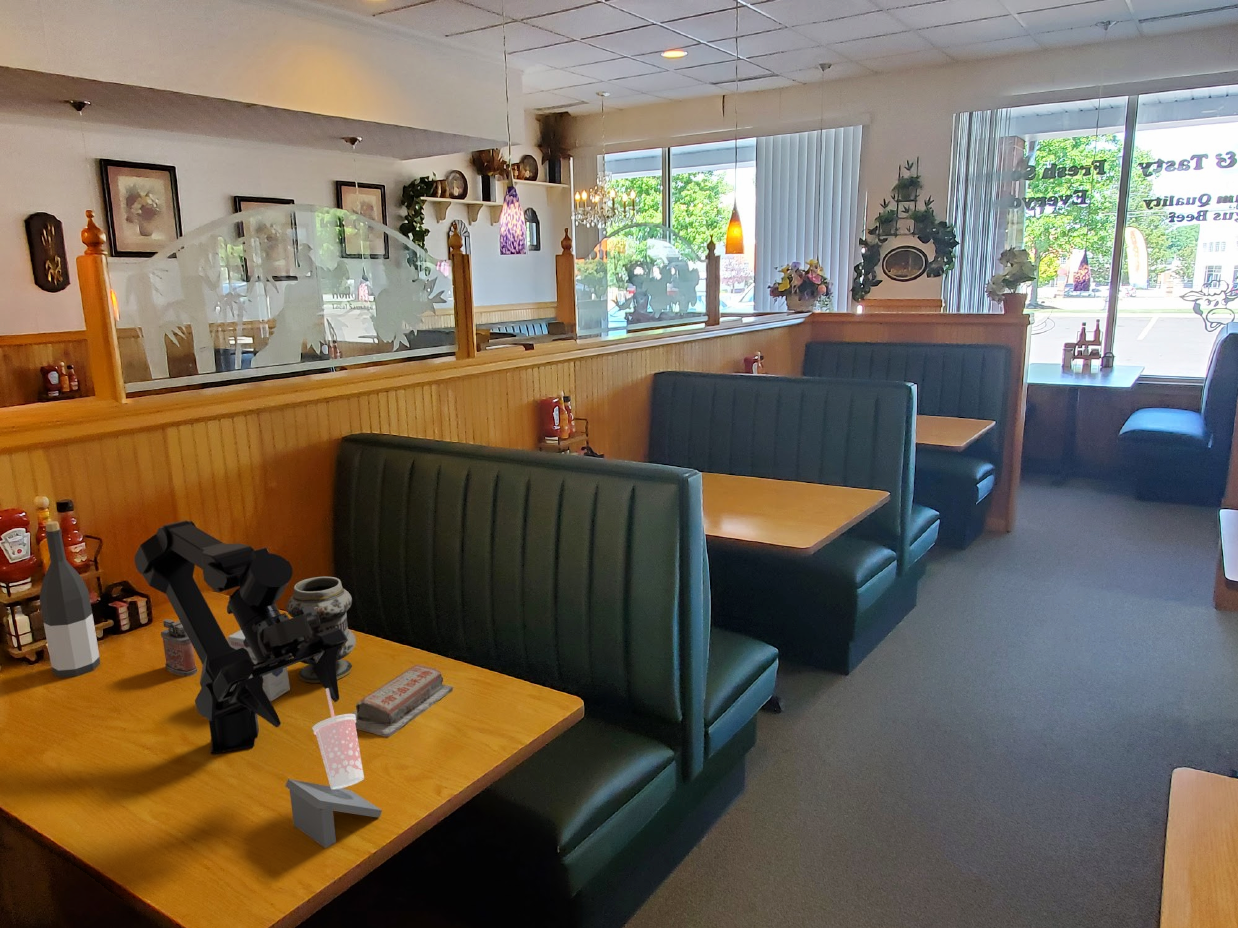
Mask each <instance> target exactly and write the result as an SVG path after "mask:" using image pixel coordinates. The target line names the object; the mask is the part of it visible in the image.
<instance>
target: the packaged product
mask: <svg viewBox="0 0 1238 928" xmlns="http://www.w3.org/2000/svg"><path fill="white" fill-rule="evenodd" d="M443 682H444V678H443V675H442V671H440V670H438V669H437V668H436V667H431V666H430V667H429V666H426V665H421V664H414V665H413V666H411V667H409V668H408V669H407V670H405V671H403V672H401V674H399V675H396V677H395V678H392V679H391V680H389V681H388V682H386V683H385V684H384V685H382V686H380V687H378V688H377V689H376V690H374V691H373V692H371V693H369V694H368V695H366V696H365V697H363V698H362V699H360V700H359V701H358V702H357V703H356V705H355V709H356V710H355V711H353V712H352V713H351V714H355V716H356V721H357V722H356V723H355V725H356V730H359V731H364V732H366V733H370V734H375V735H378V736H381V737H386V736H387V738H390V737H392V736H393V735H395V734H396V733H397V732H398V731H399V730H401V729H402V728H403V727H404V726H405V725H407V724H409V723H410V722H411V720H412V721H413V720H415V719H416V718H417V717H419V716H420V715H422V714H423V713H424V712H426V711H427V710H429V709H430V708H431V707H433V705H435V704H436V703H438V702H439V701H441V699H442V698H443V697H445V696H447V695H448V694H450V693H451V692H452V691H453V690H454V686H451V685H448V684H447V685H446V684H443ZM429 707H430V708H429ZM418 715H419V716H418Z"/></svg>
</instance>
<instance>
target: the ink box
mask: <svg viewBox="0 0 1238 928" xmlns="http://www.w3.org/2000/svg"><path fill="white" fill-rule="evenodd" d="M244 640H245V636H244V634H243V632H242V630H241V629H240V630H238V631H236V632H234V633H232V634H230V635H228V636H227V641H228V643H229V645H230V646H231V647H232V648H234V649H236V650H237V649H240V648H245V649H246V650H247V651H248V653H249V655H250V657H251V659H252V661H253V663H254V664H256V663H257V662H258V661H257V660H256V658H255V656H254V654H253V652H252V650H251V648H250V647H247V648H246V647H245V645H244V643H243V641H244ZM262 677H263V690H264V692H265V694H266V695H267V697H268V699H269V701H270V702H272V701H274V700H276V699H278V698H279V697H281V696H282V695H284V694H285V693H287V692H288V691H290V690H291V687H290V686H291V685H290V680H289V674H288V667H285V668H282V669H280V670H277V671H274V672H272V673H269V674H266V675H264V676H262Z"/></svg>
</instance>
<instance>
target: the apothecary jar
mask: <svg viewBox="0 0 1238 928" xmlns="http://www.w3.org/2000/svg"><path fill="white" fill-rule="evenodd" d="M352 603H353V598H352V595H351V594H350V593H349V591H347V590H346V589H345V588H343V585H342V581H341V579H339V578H338V577H333V576H317V577H310V578H306V579H302V580H300V581H299V582H297V583H296V584H295V585H294V587H293V595H292V596H290V598H289V599H288V600H287V603H286V605H285V609H286V612H287V613H288V614H287V615H288V616H290V617H291V618H294V617H297V611H298V610H300V609H302V608H305V607H308V606H311V605H312V606H313V607H314V609H315V611H316V612H317V614H318V616H319V619H320V625H319V626H316V627H314V628H311V631H312V635H310V636H307V637H305V636H303V638H304V641H303V643H302V644H299V645H298V647H299V648H301V647H304V646H307V645H309V644H310V642H311V641H312V640H313V638H314V637H315V635H316V634H318V633H321V632H324V631H327V630H329V629H332V628H335V627H336V628H339V629H341V630H342V631H343V632H344V634H345V635H346V637H347V639H348V641H347V642H346V643H345V645H344V646H343V648H342V650H341V651H340V653H339V654H338V656H337V657H336V676H337V680H340V679H342V678H345V677H346V676H347V675H349V674H351V672H352V669H351V668H352V667H353V664H352V663H351V662H350V661H348V660H346V659H344V658H346V657H347V656H348V655H349V654H351V652H352V651H353V650H354V648H355V646H356V643H357V638H356V636H355V634H354V633H353V632H352V630H350V629H349V626H348V618H347V617H348V616H347V611H348V610H349V609H350V608H351V607H352ZM300 663H303V664H305V666H304V667H302V668H301V669H300V670H299V672H298V678H299V679H300V680H301V681H302V682H306V683H309V684H322V683H321V682H320V680H319V678H318V677H317V675H316V674H315V672H314V670H313V667H314V666H315V663H312V662H310V660H309V659H306V660H304V661H301V662H300Z"/></svg>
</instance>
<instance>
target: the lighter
mask: <svg viewBox="0 0 1238 928" xmlns="http://www.w3.org/2000/svg"><path fill="white" fill-rule="evenodd" d="M162 625H163V627H164V628H166V629H164V630H162V631H161V632H160V636H161V638H162V644H163V651H164V656H165V657H164V658H165V664H164V665H165V669H166V670H167V671H168V672H170V673H171V674H175V675H178V676H182V677H190V676H193V675H196V674H197V673H198V667H197V666H196V660H195V654H194V647H193V645H192V643H191V641H190V639H189V638H188V636H187V634H186V632H185V630H184V628H183V626H182V624H181V622H180V620H177V621H174V620H171V619H169V618H168V619H164V620H163V624H162Z"/></svg>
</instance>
